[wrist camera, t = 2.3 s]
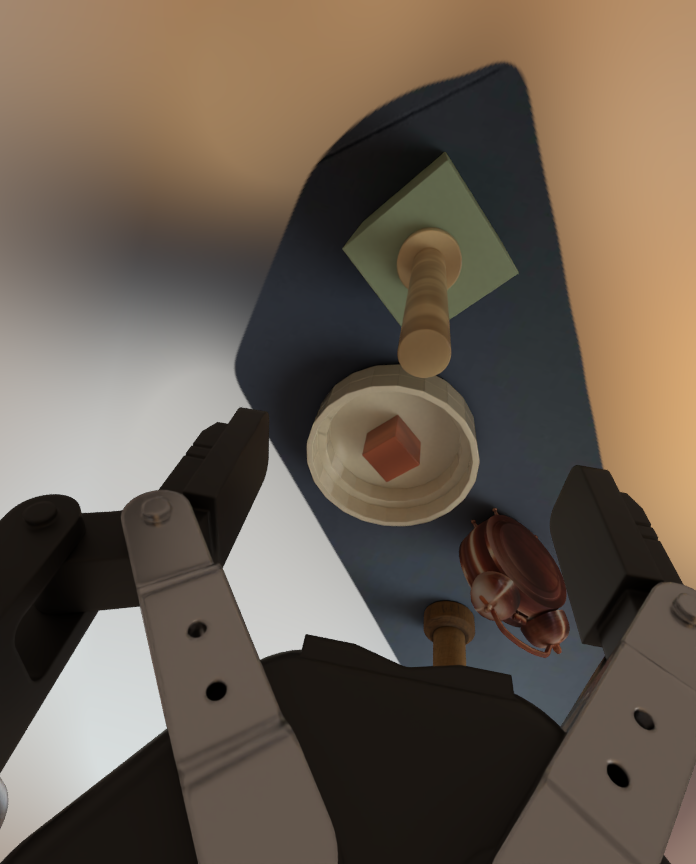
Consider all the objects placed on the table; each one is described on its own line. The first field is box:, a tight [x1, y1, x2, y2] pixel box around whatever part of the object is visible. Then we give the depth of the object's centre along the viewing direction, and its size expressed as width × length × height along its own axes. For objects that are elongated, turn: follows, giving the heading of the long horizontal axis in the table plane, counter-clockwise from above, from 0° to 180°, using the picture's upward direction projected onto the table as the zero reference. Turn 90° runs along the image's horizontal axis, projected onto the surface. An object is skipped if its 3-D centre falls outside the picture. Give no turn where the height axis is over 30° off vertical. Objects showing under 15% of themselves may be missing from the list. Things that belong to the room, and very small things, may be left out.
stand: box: [342, 152, 518, 327], centre depth 35 cm, size 8×8×10 cm
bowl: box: [307, 365, 479, 526], centre depth 48 cm, size 16×16×5 cm
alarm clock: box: [459, 508, 570, 658], centre depth 48 cm, size 11×5×15 cm, turn 56°
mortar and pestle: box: [424, 601, 475, 666], centre depth 56 cm, size 7×6×18 cm
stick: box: [397, 227, 462, 378], centre depth 24 cm, size 4×4×15 cm
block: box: [362, 415, 421, 482], centre depth 48 cm, size 4×4×4 cm
